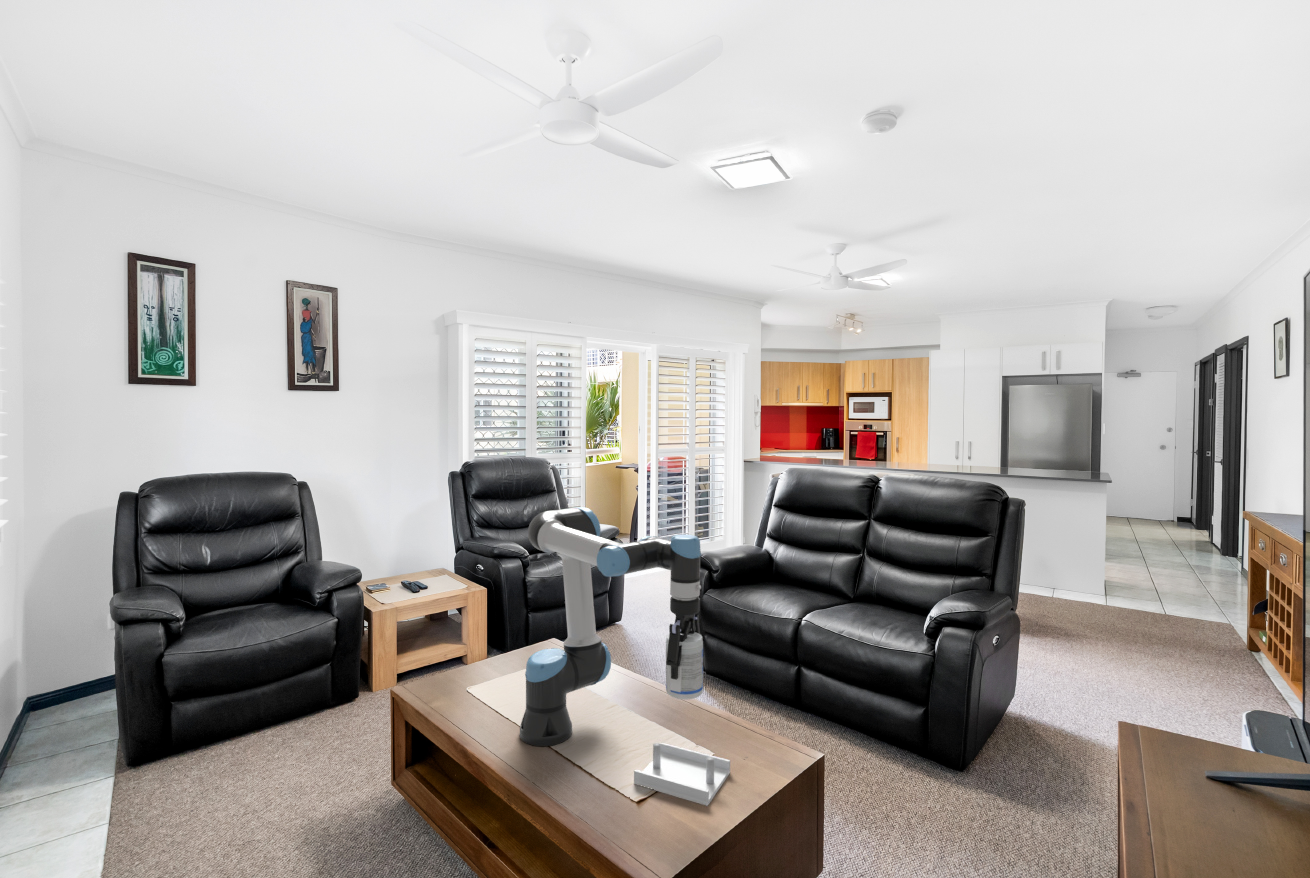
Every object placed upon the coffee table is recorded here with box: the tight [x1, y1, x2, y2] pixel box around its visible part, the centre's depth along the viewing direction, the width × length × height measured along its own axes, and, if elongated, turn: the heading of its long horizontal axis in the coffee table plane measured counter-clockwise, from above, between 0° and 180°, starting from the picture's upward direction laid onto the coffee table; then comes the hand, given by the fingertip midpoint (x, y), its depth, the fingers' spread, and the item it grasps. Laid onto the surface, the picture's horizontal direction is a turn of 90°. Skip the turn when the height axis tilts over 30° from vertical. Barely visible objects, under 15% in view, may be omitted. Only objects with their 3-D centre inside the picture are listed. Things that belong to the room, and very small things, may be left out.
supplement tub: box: [665, 632, 704, 701], centre depth 165 cm, size 10×10×15 cm
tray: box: [633, 742, 731, 807], centre depth 166 cm, size 20×16×7 cm
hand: (683, 682), depth 165 cm, fingers closed on supplement tub, 9 cm apart
